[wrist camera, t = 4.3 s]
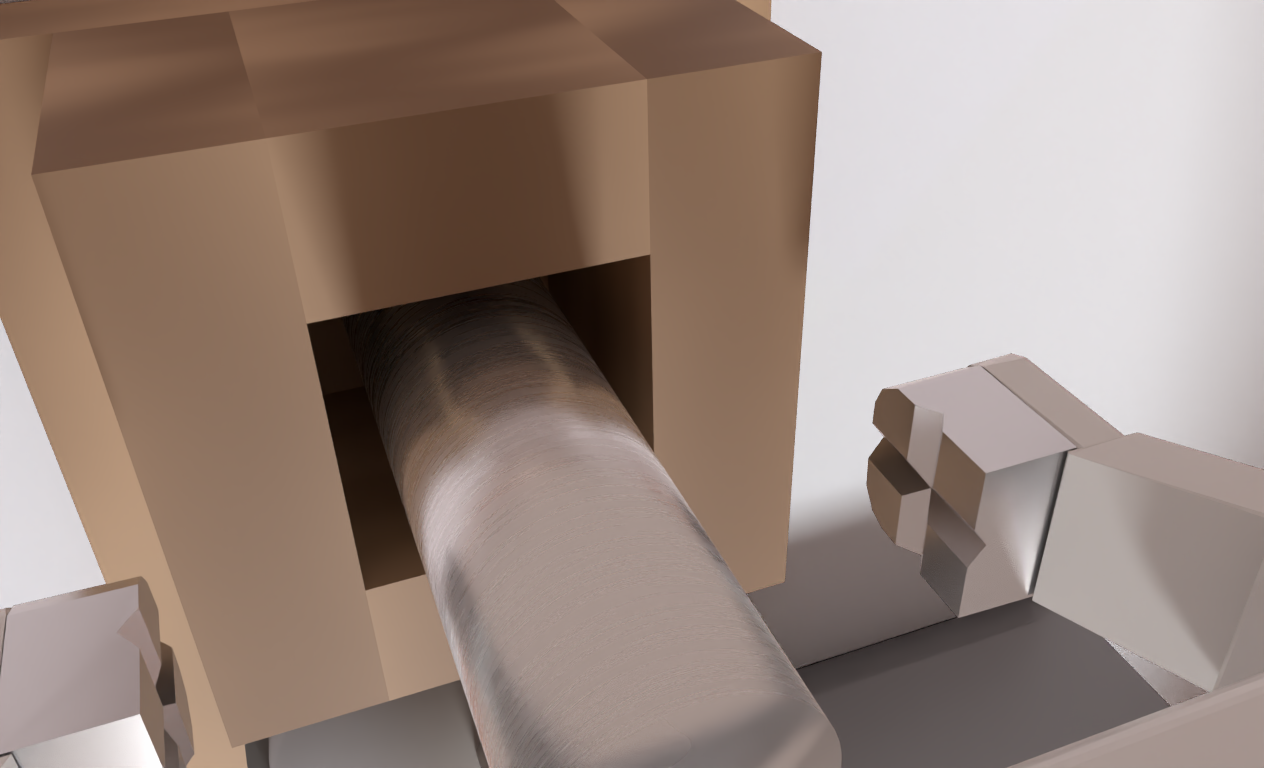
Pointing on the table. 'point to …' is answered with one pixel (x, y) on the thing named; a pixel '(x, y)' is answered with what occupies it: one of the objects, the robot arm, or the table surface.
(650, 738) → the lock pin
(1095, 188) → the table surface
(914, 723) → the tray
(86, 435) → the pulley bracket
